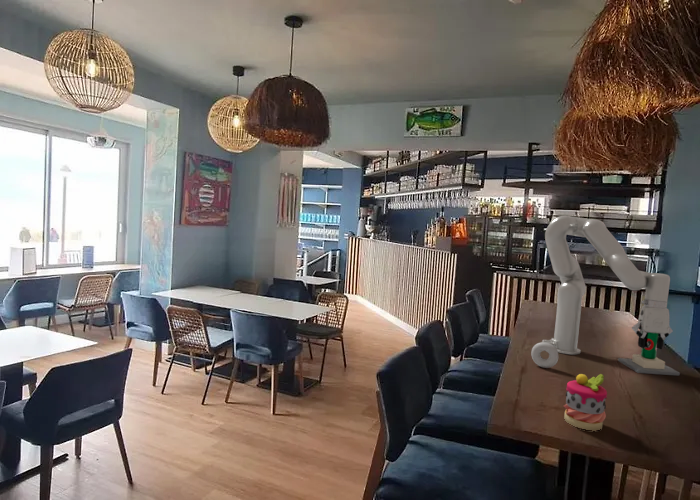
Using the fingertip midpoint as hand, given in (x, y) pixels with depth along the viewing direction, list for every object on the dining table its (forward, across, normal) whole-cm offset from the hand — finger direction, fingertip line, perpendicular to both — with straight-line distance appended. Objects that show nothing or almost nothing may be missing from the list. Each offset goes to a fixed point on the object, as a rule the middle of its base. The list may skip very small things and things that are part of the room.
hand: (649, 347), depth 183 cm
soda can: (+5, 0, 0) cm, 5 cm away
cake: (+9, -52, -55) cm, 76 cm away
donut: (+9, -45, -8) cm, 47 cm away
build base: (+9, 0, 0) cm, 9 cm away
